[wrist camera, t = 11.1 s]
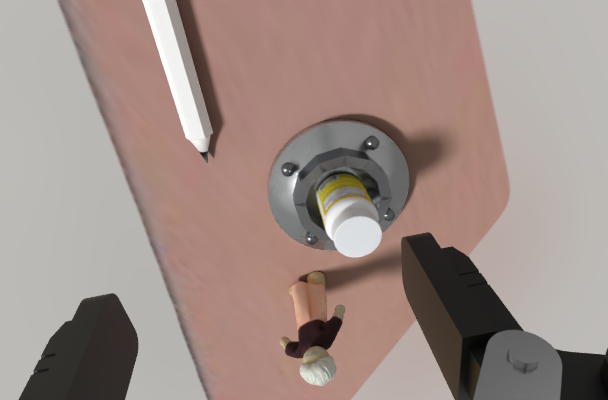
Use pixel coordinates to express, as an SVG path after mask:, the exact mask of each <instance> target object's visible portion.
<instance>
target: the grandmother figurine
mask: <svg viewBox="0 0 608 400" xmlns="http://www.w3.org/2000/svg"><path fill="white" fill-rule="evenodd" d="M307 282H308V283H306V282H297V283H295V284H293V285H292V286H290V288H289V293H290V294H291V295H292V296H293V299H294V304H295V313H296V321H297V331H298V334H299V342H291V341H290V339H289V338H288V337H282V338H281V340H280V344H281V345H282V346H283V348H284V349H285V353H286V355H288V356H291V357H294V358H303V365H302V366H301V368H300V374H301V376H302V377H303V378H304V379H305V380H306V381H307V382H308V383H310V384H314V385H320V386H322V385H325V384H326V383H328V381H330V380H332V379H333V378H334V374H335V372H336V365H335V363H334V359H333V357H332V356H329V354H328V352H327V351H326V350H327V349H328V348H330V347H331V345H332V343H333V341H334V340H335V338H336V335H337V333H338V331H339V329H340V327H341V325H342V320H343V314H344V313H345V307H344V306H343V305H338V306H336V308H335V312H334V314H333V317H332V318H331V319H330V320H329V321H327V299H326V294H325V285H326V284H325V279H324V275H323V274H322V273H321V272H313V273H310V274H309V275H308V277H307Z"/></svg>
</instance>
